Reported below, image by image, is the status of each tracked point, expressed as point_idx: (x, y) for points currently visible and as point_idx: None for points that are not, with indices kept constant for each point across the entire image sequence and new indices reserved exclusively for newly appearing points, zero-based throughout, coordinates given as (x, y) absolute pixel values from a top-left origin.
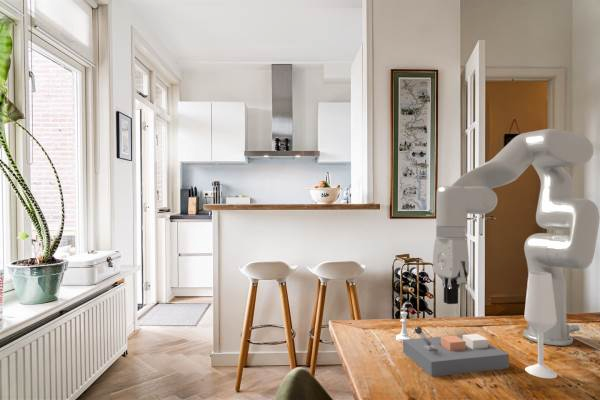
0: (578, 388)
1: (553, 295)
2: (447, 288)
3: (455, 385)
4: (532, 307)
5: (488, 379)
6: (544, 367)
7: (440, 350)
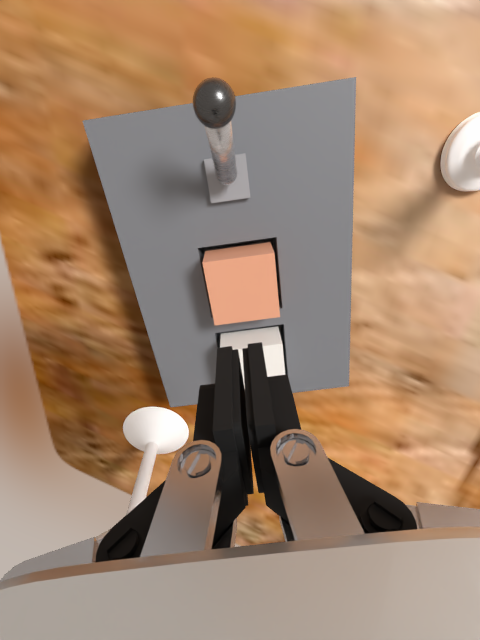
0: (80, 451)
1: None
2: (226, 438)
3: (46, 184)
4: None
5: (103, 302)
6: (142, 445)
7: (206, 214)
